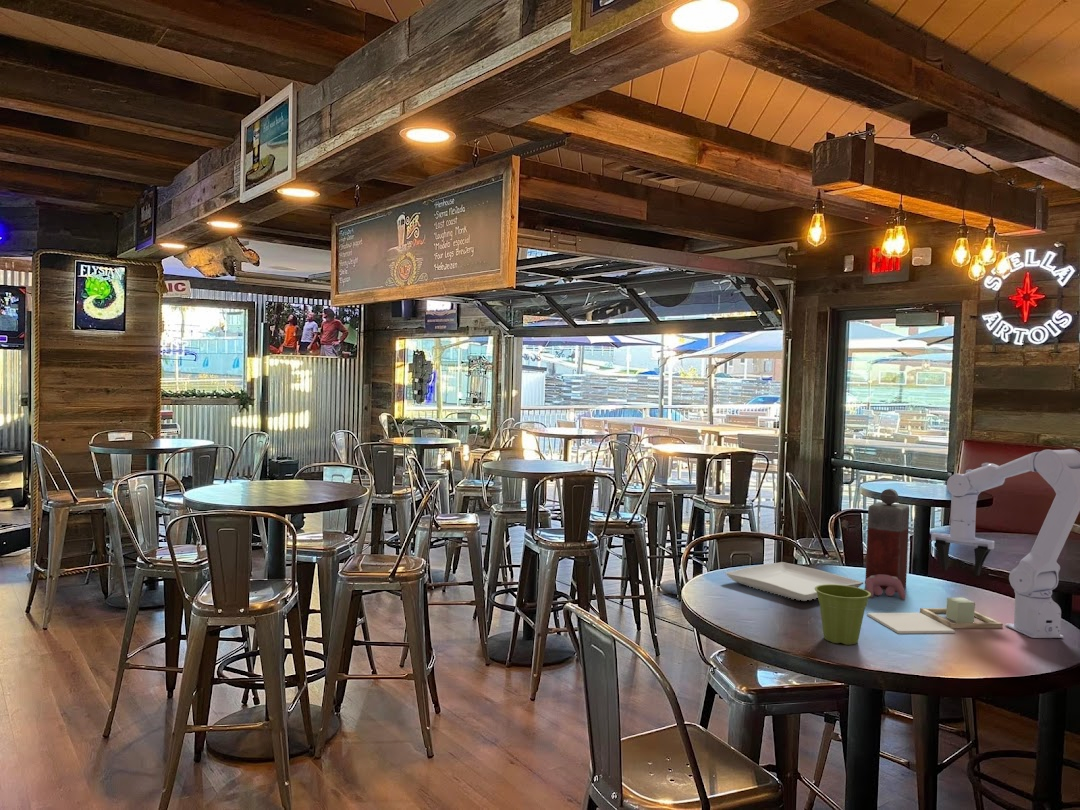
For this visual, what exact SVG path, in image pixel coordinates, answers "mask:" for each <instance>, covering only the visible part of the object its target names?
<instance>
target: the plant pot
mask: <svg viewBox="0 0 1080 810" xmlns="http://www.w3.org/2000/svg"><path fill="white" fill-rule="evenodd" d="M815 591H817V595H818V599H817V600H818V603H819V610H820V616H821V617H820V618H821V625H822V635H823V638H824V639H825V640H826V641H828V642H829V643H833V644H840V643H841V644H843V645H846V646H849V645H850V646H851V645H855V644H857V643H858V642H859V638H860V634H861V629H862V625H863V619H864V615H865V611H866V607H867V605H868V599H869V598H870V596H871V593H870V592H868V591H867V590H866V589H864V588H860V587H858V588H856V587H852V586H845V585H834V584H829V585H819V586H816V587H815Z"/></svg>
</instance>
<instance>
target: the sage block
mask: <svg viewBox="0 0 1080 810" xmlns="http://www.w3.org/2000/svg"><path fill="white" fill-rule="evenodd" d="M946 608H947V611H946V613H945V614H946V616H945V617H946V619H949V620H950V621H953V622H954V623H973V622H974V623H975V617H974V614H975V611H976V602H974V601H973V600H970V599H967V598H965V597H946Z"/></svg>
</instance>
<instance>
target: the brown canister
mask: <svg viewBox="0 0 1080 810" xmlns="http://www.w3.org/2000/svg"><path fill="white" fill-rule="evenodd" d="M880 499H881V501H882V502H879V501H878V502H876V503H873V504H870V505H868V511H867V533H866V535H867V536H866V552H865V553H866V557H865V578H864V579H865V580H866V579H867V578H868V577H870V576H872V575H877V574H884V575H889V576H894V577H897V578H898V579H899V580H900V581H901V583H902V585H903V588H904V589H905V588H906V587H907V573H908V571H907V569H908V568H907V567H908V553H909V552H908V551H909V550H908V548H909V545H908V544H909V530H910V529H909V525H910V524H909V523H910V507H909V506H908V505H906V504H899V503H896V502H897V501H898V499H899V493H898V492H897V490H896V489H893V488H887V489H884V490H882V491H881V493H880ZM864 586H865V587H866V585H865V584H864ZM880 587H881V588H882V590H884V591H885V590H886V588H887V586H880ZM895 593H897V592H896V591H895Z"/></svg>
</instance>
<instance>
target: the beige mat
mask: <svg viewBox="0 0 1080 810" xmlns="http://www.w3.org/2000/svg"><path fill="white" fill-rule="evenodd" d="M866 615H867V617H870V618H871V619H873V620H874V621H876V622H878V624H881V625H883V626H885V627H886V628H888V629H889V630H891V631H893V632H895V633H897V634H901V635H902V634H956V630H955V629H954V628H950V627H948V626H946V625H944V624H942V623H940V622H938V621H937V620H935V619H933V618H931V617H929V616H927V615H925V614H923V613H921V612H867V613H866Z"/></svg>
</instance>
